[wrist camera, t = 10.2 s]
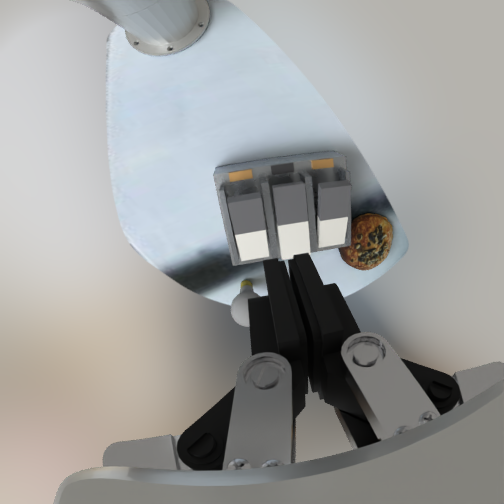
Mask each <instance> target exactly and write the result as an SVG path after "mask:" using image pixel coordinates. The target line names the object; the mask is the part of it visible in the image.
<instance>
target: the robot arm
mask: <svg viewBox="0 0 504 504" xmlns="http://www.w3.org/2000/svg"><path fill="white" fill-rule="evenodd" d="M72 1H75V2H77V3H80V4H82V5H85V6H87V7H89V8H90V9H92V10H94V11H96V12H98V13H99V14H101V15H102V16H104V17H106V18H107V19H109V20H111V21H112V22H114V23H115V24H117V25H119V26H120V27H122V28H123V29H125V34H126V38H127V40H128V42H129V43H130V45H131V46H132V47H133V48H135V49H136V50H138V51H139V52H141V53H143V54H147V55H150V56H167V55H171V54H175V53H177V52H180V51H182V50H184V49H186V48H188V47H189V46H191V45H192V44H193V43H195V42H196V41H197V40H198V39H199V38H200V37H201V36H202V34H203V33H204V31H205V30H206V28H207V26H208V23H209V19H210V9H209V5H208V3H207V1H206V0H72ZM201 25H203V27H200V26H201ZM137 43H139V44H138V45H137ZM171 48H173V50H172V51H170V49H171ZM288 264H289V274H290V278H289V275H288V272H287V269H286V265H285V262H284V261H278V258H273V259H267V260H263V265H264V271H265V277H266V283H267V289H268V296H262V297H255V298H249V299H248V312H249V325H250V337H251V349H252V356H250V357H249V358H248V359H246V360H245V361H244V362H243V363H242V365H241V366H240V367H239V370H238V374H237V380H236V386H235V387H234V388H233V389H232V390H231V391H230V392H229V393H228V394H226V395H225V396H224V397H223V398H222V399H221V400H220V401H219V402H218V403H217V404H215V405H214V406H213V407H212V408H211V409H210V410H209V411H207V412H206V413H205V414H204V415H203V416H202V417H201V418H199V419H198V420H197V421H196V422H195V423H194V424H192V425H191V426H190V427H189V428H188V429H186V430H185V431H184V432H183V434H182V435H178V436H172V435H171V434H170V435H164V436H159V437H152V438H146V439H139V440H131V441H122V442H116V443H113V444H111V445H110V446H109V447H108V448H107V449H106V450H105V452H104V455H103V467H98V468H90V469H86V470H82V471H79V472H76V473H74V474H72V475H70V476H68V477H67V478H66V479H65V480H64V481H63V482H62V483H61V485H60V487H59V488H58V491H57V493H56V496H55V500H54V503H53V504H504V363H501V362H493V363H490V364H486V365H482V366H479V367H475V368H471V369H467V370H463V371H459V372H455V373H454V375H453V376H450V375H448V374H446V373H443V372H440V371H437V370H434V369H431V368H428V367H425V366H422V365H419V364H416V363H413V362H410V361H408V360H405V359H401V358H399V356H398V355H397V354H396V352H395V351H394V349H393V348H392V347H391V346H390V344H389V343H388V342H387V341H386V340H385V339H384V338H383V337H382V336H380V335H378V334H375V333H370V332H360V330H359V328H358V326H357V324H356V322H355V319H354V318H353V316H352V314H351V311H350V310H349V308H348V306H347V304H346V301H345V300H344V298H343V296H342V294H341V292H340V290H339V288H338V286H337V285H336V284H335V283H333V284H328V285H323V282H322V280H321V278H320V276H319V274H318V272H317V270H316V267H315V265H314V263H313V261H312V259H311V257H310V255H309V253H302V254H297V255H293V259H291V260H288ZM308 377H309V381H310V385H311V389H312V392H313V393H314V392H318V394H319V397H320V399H324V400H325V403H328V404H330V405H332V406H334V410H335V413H336V415H337V417H338V419H339V421H340V423H341V425H342V427H343V430H344V432H345V434H346V436H347V438H348V440H349V442H350V444H351V446H352V448H353V450H351V451H348V452H344V453H341V454H336V455H332V456H328V457H324V458H319V459H315V460H310V461H304V462H299V463H295V457H296V417H297V416H298V415H299V413H300V412H301V411H302V410H303V409H304V407H305V394H308Z"/></svg>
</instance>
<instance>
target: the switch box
mask: <svg viewBox="0 0 504 504" xmlns="http://www.w3.org/2000/svg"><path fill="white" fill-rule="evenodd" d="M213 176H214V181H215V186H216V191H217V195H218V200H219V205H220V209H221V214H222V218H223V223H224V227H225V232H226V236H227V241H228V245H229V250H230V254H231V259H232V263H233V266H235V265H241V264H247V263H253V262H259V261H263V260H267V259H273V258H282V257H281V252H280V244H279V236H278V228H277V221H276V213H275V206H274V199H273V191H272V185H278V184H285V183H291V182H299V181H303V182H304V183H305V190H306V201H307V213H308V225H309V239H310V253H311V252H317V251H323V250H329V249H334V248H340V247H345V246H350V245H351V196H350V205H349V213H348V221H347V229H346V236H345V243H344V244H339V245H333V246H327V247H321V248H319V247H318V245H317V219H318V183H326V182H334V181H343V180H348V181H349V182H350V172H349V171H347V166H346V156H344V155H342V154H340V153H338V152H335V151H326V152H316V153H307V154H299V155H291V156H283V157H276V158H269V159H262V160H256V161H250V162H244V163H238V164H232V165H227V166H222V167H216V168H215V171H214V174H213ZM257 192H260V194H261V199H262V206H263V214H264V221H265V228H266V236H267V243H268V251H269V257H263V258H257V259H251V260H245V261H241V257H240V253H239V249H238V245H237V241H236V237H235V233H234V229H233V224H232V220H231V216H230V212H229V208H228V203H227V198H228V197H234V196H239V195H245V194H251V193H257Z"/></svg>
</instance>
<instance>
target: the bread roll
mask: <svg viewBox="0 0 504 504" xmlns="http://www.w3.org/2000/svg"><path fill="white" fill-rule="evenodd" d="M392 231H393V229H392V225H391V224H390V222H388V219H387V218H386V217H382V216H380V215H378V214H370V213H368V214H364V215H360V216H358V217H357V218H355V219H353V221H352V222H351V245H350V246H345V247H340V248H338V249H339V252H340V254H341V257H342V259H343V260H344V261H345V262H346V263H347V264H348V265H350V266H352V267H354V268H356V269H359V270H369V269H372V268H374V267H376V266H378V265H379V264H381V262H382V261H384V259H385V258H386V257H387V255H388V253H389V250H390V248H391V241H392V238H393V234H392Z"/></svg>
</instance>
